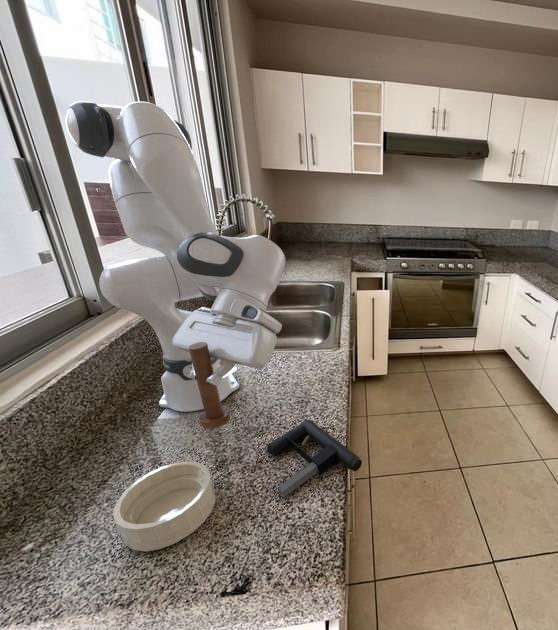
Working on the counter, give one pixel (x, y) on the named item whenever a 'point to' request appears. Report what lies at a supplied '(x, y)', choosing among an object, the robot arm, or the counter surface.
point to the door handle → (316, 463)
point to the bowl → (165, 506)
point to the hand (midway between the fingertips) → (203, 381)
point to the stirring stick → (207, 388)
